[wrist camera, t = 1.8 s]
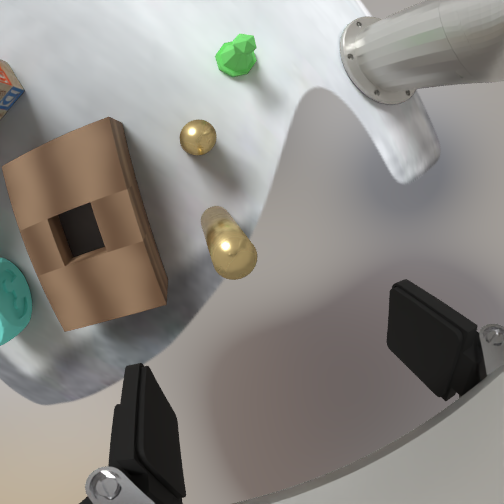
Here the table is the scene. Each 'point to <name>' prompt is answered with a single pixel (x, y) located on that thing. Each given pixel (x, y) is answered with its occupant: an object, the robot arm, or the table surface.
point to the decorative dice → (13, 301)
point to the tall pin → (227, 244)
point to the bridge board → (107, 217)
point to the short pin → (197, 137)
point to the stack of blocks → (8, 88)
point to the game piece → (237, 55)
